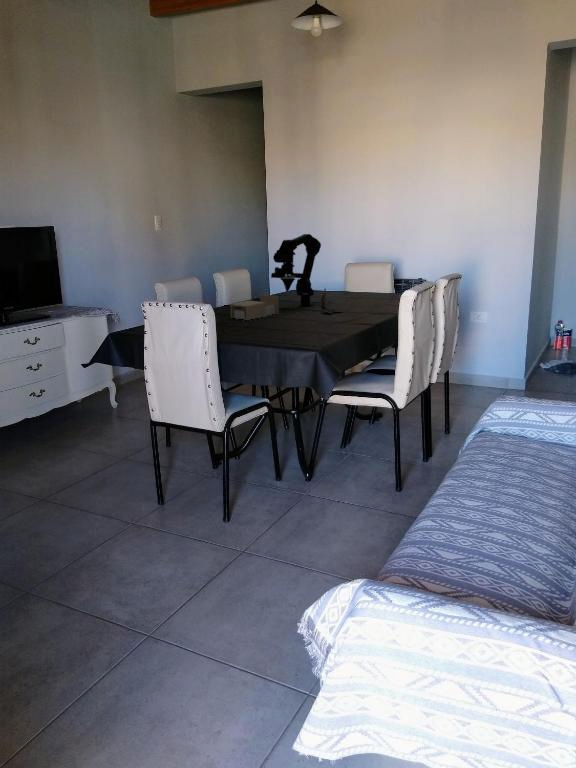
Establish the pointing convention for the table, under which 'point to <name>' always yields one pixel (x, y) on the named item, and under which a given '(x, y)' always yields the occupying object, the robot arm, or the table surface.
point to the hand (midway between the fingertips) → (287, 291)
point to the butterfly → (322, 304)
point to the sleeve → (250, 309)
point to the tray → (270, 304)
